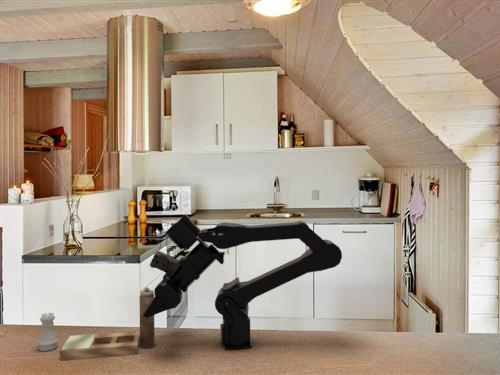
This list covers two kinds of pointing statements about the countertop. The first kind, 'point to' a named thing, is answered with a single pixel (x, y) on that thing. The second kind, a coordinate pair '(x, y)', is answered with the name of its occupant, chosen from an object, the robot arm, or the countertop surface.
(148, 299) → the pepper mill
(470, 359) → the countertop surface
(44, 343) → the rook chess piece
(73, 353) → the board
